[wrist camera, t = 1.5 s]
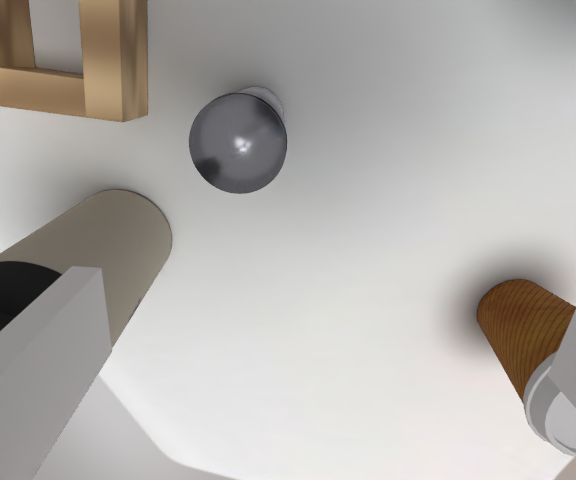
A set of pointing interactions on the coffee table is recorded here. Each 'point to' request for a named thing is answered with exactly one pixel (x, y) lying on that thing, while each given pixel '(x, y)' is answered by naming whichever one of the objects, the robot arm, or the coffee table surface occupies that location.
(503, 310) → the disposable coffee cup
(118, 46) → the square frame
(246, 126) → the metal canister
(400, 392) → the coffee table surface
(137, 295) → the travel mug
